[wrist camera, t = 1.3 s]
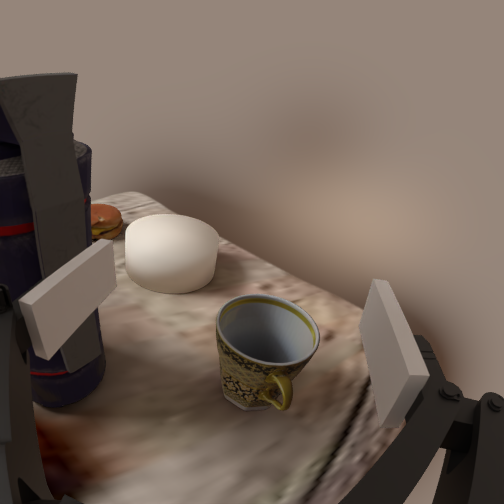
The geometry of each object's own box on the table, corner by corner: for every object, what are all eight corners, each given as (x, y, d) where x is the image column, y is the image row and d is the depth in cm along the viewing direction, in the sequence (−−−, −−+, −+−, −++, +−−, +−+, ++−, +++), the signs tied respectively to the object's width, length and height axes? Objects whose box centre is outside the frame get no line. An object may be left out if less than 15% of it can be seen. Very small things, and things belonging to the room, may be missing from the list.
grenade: (-1, 361, 28) (-56, 88, 13) (70, 320, 37) (59, 72, 23) (59, 445, 22) (-35, 83, 8) (140, 384, 32) (149, 73, 18)
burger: (107, 216, 64) (107, 196, 62) (131, 233, 60) (132, 211, 58) (67, 228, 57) (66, 207, 55) (88, 248, 53) (86, 224, 51)
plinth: (107, 272, 48) (106, 239, 45) (154, 236, 61) (156, 207, 58) (191, 306, 46) (195, 271, 43) (226, 259, 58) (232, 229, 56)
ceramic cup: (201, 356, 38) (210, 291, 33) (279, 355, 40) (301, 294, 36) (216, 451, 27) (230, 397, 22) (310, 441, 30) (348, 386, 25)
